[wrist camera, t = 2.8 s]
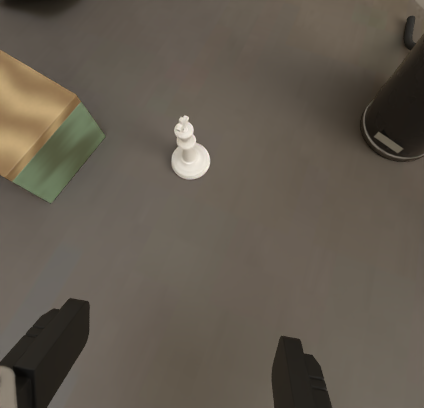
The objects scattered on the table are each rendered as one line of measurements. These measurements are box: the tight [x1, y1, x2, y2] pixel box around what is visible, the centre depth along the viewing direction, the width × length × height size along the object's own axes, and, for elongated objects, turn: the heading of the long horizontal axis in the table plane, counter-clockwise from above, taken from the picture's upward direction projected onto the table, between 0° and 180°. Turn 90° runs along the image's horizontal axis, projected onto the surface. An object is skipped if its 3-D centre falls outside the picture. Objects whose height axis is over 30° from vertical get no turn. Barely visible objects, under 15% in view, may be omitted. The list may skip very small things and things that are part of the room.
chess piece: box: [171, 116, 210, 179], centre depth 36 cm, size 5×5×10 cm
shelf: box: [0, 50, 105, 204], centre depth 39 cm, size 11×16×9 cm
